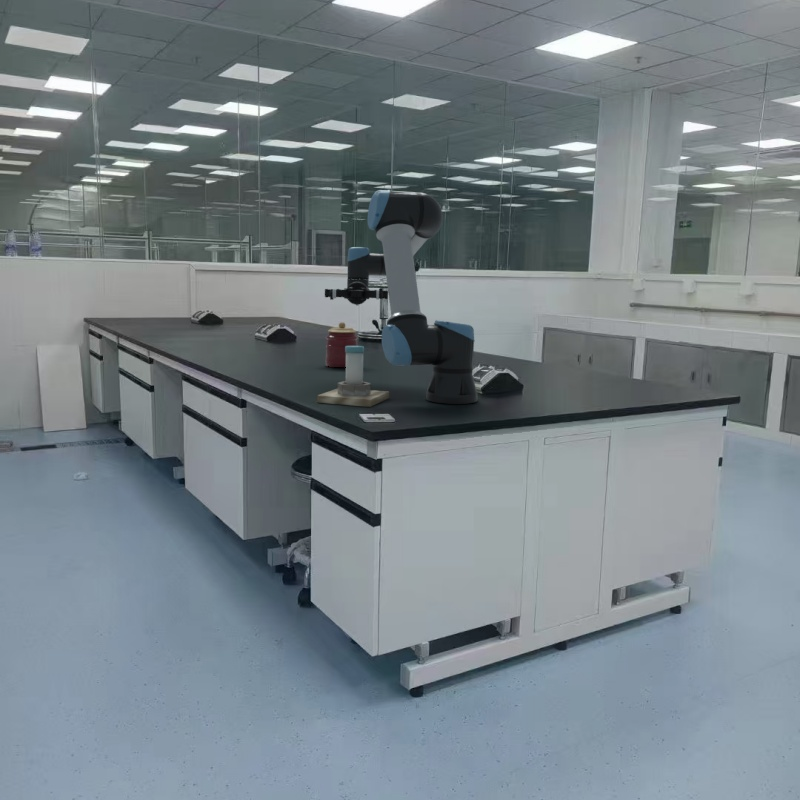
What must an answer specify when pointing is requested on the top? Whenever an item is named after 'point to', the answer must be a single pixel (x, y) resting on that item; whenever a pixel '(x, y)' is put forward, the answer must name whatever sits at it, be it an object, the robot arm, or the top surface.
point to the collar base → (353, 395)
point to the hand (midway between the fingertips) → (355, 294)
